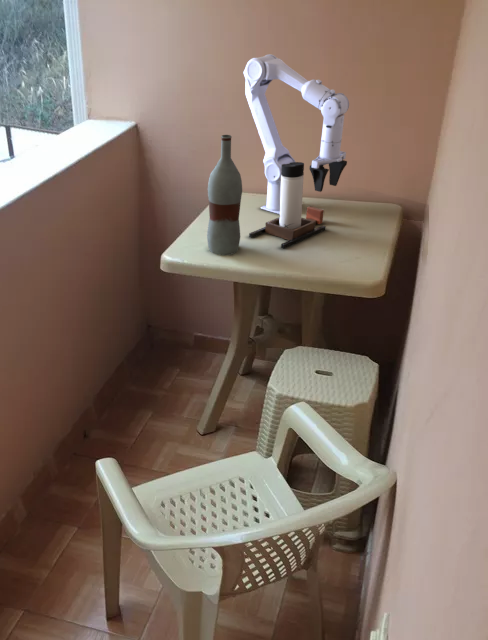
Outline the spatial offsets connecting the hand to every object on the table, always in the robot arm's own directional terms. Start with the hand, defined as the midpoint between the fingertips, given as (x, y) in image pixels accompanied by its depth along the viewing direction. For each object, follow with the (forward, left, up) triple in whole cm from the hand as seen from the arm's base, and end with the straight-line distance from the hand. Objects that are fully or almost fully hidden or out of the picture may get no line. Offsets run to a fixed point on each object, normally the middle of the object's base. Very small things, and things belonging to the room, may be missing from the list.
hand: (325, 188), depth 196 cm
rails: (+17, 0, -9) cm, 20 cm away
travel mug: (+16, 0, -10) cm, 19 cm away
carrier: (+13, 0, -9) cm, 16 cm away
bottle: (+39, -6, -10) cm, 41 cm away
